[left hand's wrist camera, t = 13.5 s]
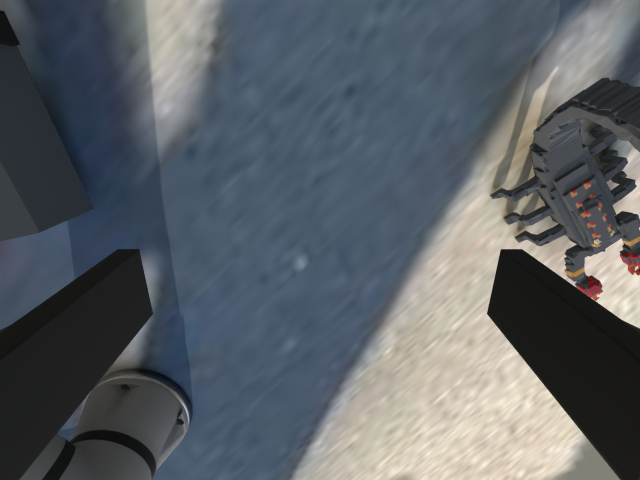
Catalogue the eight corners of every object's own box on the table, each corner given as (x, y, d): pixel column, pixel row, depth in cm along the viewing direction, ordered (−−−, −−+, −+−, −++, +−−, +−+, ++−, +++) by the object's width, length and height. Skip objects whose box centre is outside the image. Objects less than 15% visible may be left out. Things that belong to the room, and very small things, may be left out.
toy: (569, 49, 34) (814, -7, 17) (651, 242, 42) (875, 334, 25) (453, 131, 37) (565, 153, 20) (550, 298, 45) (689, 414, 28)
